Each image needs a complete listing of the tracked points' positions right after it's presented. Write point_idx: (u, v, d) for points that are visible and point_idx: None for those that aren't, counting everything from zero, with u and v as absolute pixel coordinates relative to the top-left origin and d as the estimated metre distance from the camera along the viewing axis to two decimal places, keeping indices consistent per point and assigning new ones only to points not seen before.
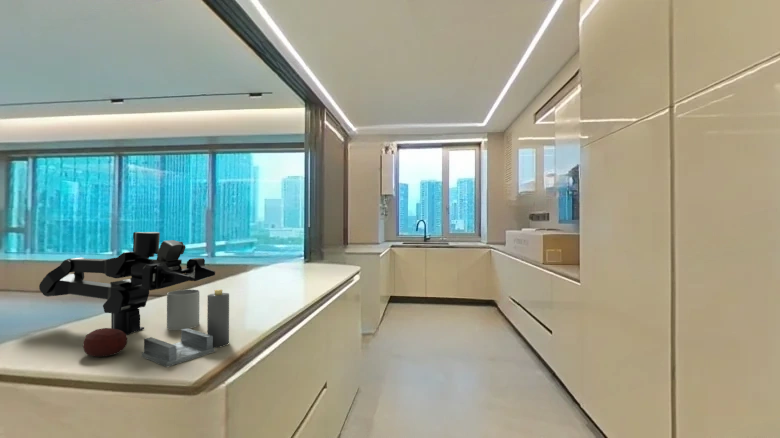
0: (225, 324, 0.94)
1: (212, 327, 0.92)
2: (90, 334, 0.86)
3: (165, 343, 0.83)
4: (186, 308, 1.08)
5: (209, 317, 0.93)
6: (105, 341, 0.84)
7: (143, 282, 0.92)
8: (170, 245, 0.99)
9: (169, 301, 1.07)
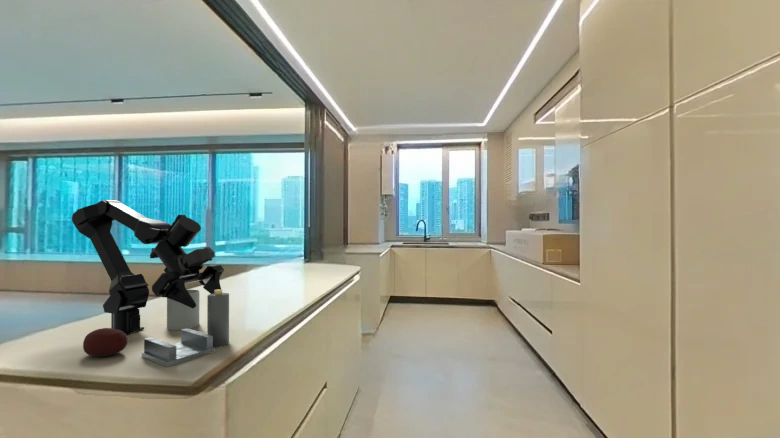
0: (225, 324, 0.94)
1: (212, 327, 0.92)
2: (90, 334, 0.86)
3: (165, 343, 0.83)
4: (186, 308, 1.08)
5: (209, 317, 0.93)
6: (105, 341, 0.84)
7: (154, 286, 0.89)
8: (200, 258, 0.94)
9: (169, 301, 1.07)
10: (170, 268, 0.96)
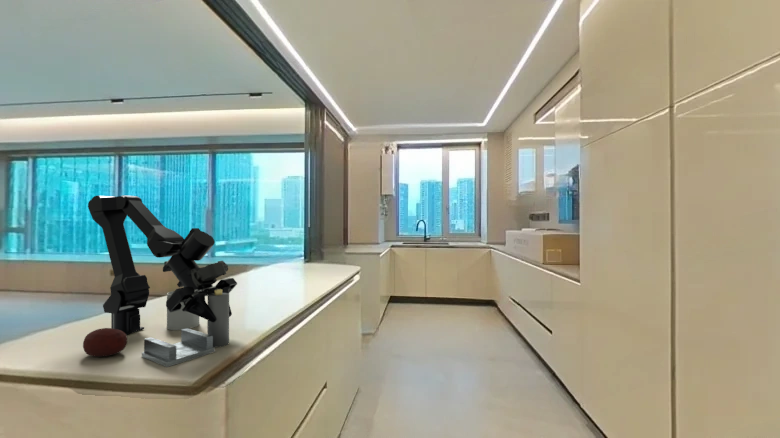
0: (225, 324, 0.94)
1: (212, 326, 0.92)
2: (90, 334, 0.86)
3: (165, 343, 0.83)
4: None
5: None
6: (105, 341, 0.84)
7: (168, 302, 0.88)
8: (214, 273, 0.93)
9: None
10: (184, 282, 0.95)
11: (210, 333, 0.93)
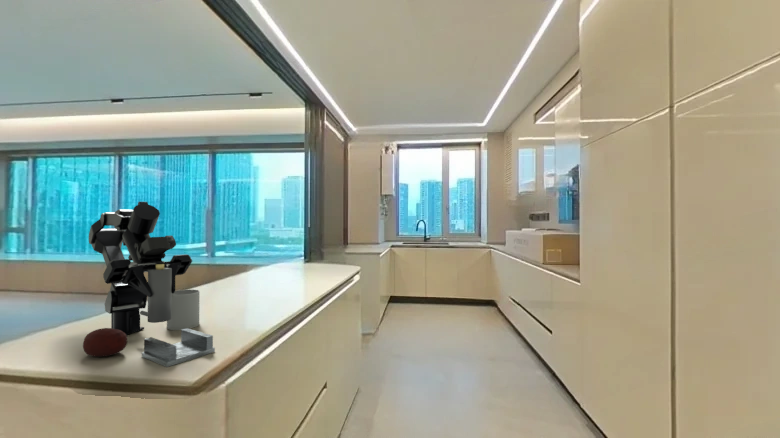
0: (163, 299, 0.91)
1: (150, 301, 0.90)
2: (90, 334, 0.86)
3: (165, 343, 0.83)
4: (186, 308, 1.08)
5: None
6: (105, 341, 0.84)
7: (105, 273, 0.87)
8: (152, 247, 0.90)
9: None
10: (131, 255, 0.94)
11: (148, 308, 0.90)
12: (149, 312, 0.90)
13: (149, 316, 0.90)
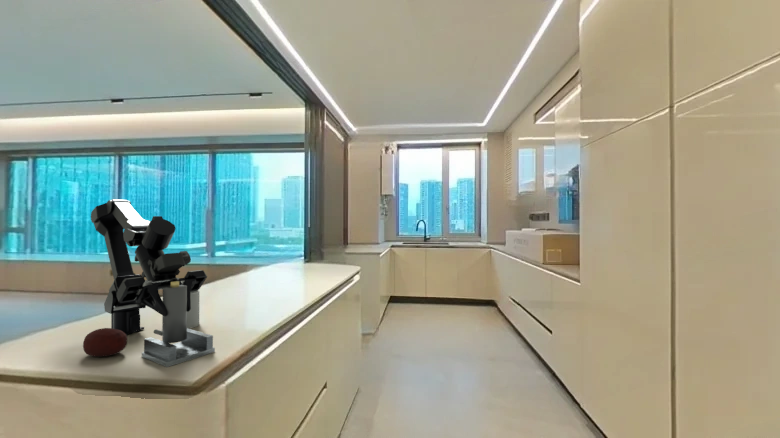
0: (179, 319, 0.87)
1: (165, 321, 0.86)
2: (90, 334, 0.86)
3: (165, 343, 0.83)
4: None
5: None
6: (105, 341, 0.84)
7: (118, 292, 0.84)
8: (167, 264, 0.87)
9: None
10: (145, 272, 0.90)
11: (163, 327, 0.86)
12: (164, 332, 0.86)
13: (164, 336, 0.86)
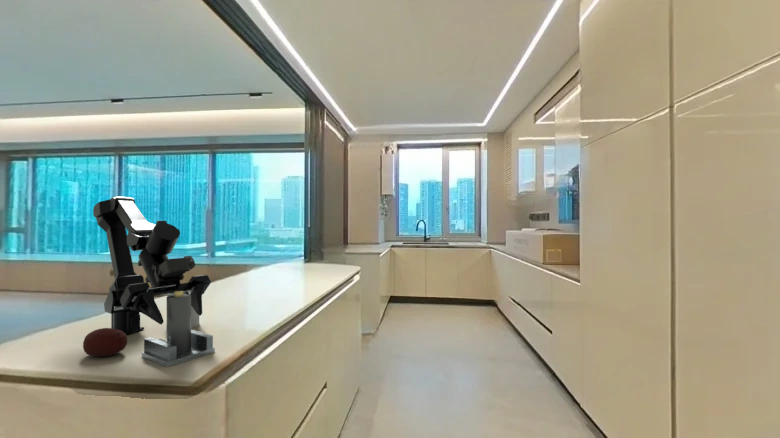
0: (183, 329, 0.86)
1: (169, 331, 0.85)
2: (90, 334, 0.86)
3: (165, 343, 0.83)
4: None
5: (167, 321, 0.86)
6: (105, 341, 0.84)
7: (122, 298, 0.83)
8: (171, 269, 0.86)
9: None
10: (148, 278, 0.90)
11: (167, 338, 0.86)
12: (168, 342, 0.85)
13: None
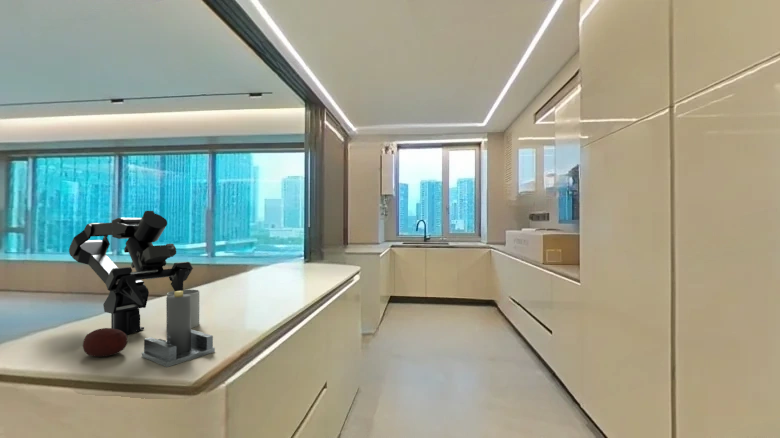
0: (183, 329, 0.86)
1: (169, 331, 0.85)
2: (90, 334, 0.86)
3: (165, 343, 0.83)
4: None
5: (167, 321, 0.86)
6: (105, 341, 0.84)
7: (107, 280, 0.90)
8: (152, 255, 0.93)
9: None
10: (133, 263, 0.97)
11: (167, 338, 0.86)
12: (168, 342, 0.85)
13: None
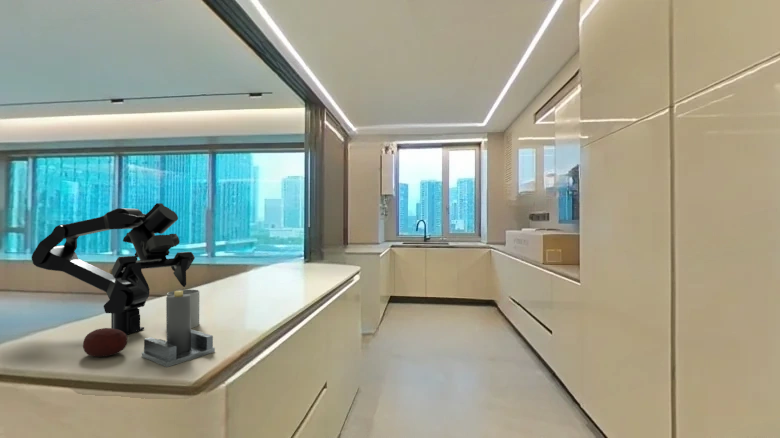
0: (183, 329, 0.86)
1: (169, 331, 0.85)
2: (90, 334, 0.86)
3: (165, 343, 0.83)
4: None
5: (166, 321, 0.86)
6: (105, 341, 0.84)
7: (113, 269, 0.93)
8: (157, 244, 0.96)
9: None
10: (137, 253, 1.00)
11: (167, 338, 0.86)
12: (168, 342, 0.85)
13: None
